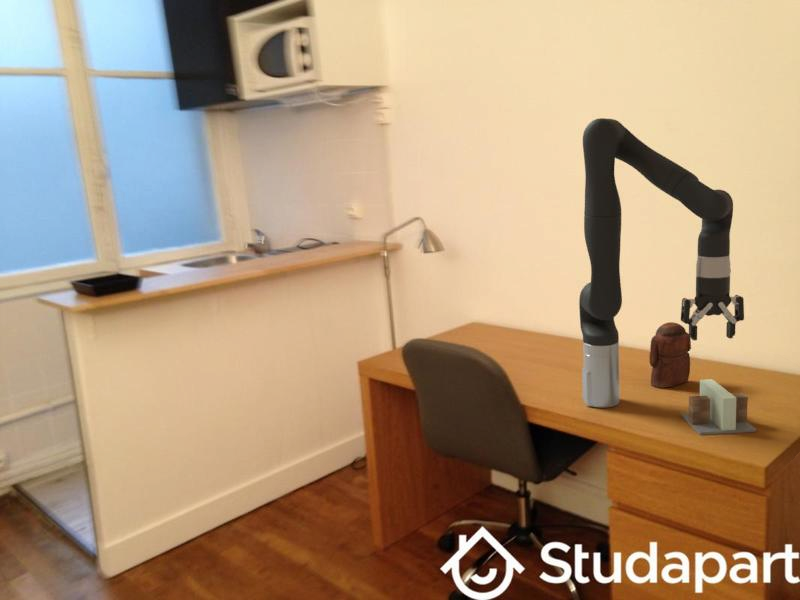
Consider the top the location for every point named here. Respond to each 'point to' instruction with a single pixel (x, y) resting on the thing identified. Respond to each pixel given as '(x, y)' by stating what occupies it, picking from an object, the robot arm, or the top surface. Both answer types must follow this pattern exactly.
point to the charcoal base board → (714, 429)
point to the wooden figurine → (670, 355)
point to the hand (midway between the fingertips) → (711, 338)
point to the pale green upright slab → (720, 404)
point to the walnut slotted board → (701, 409)
